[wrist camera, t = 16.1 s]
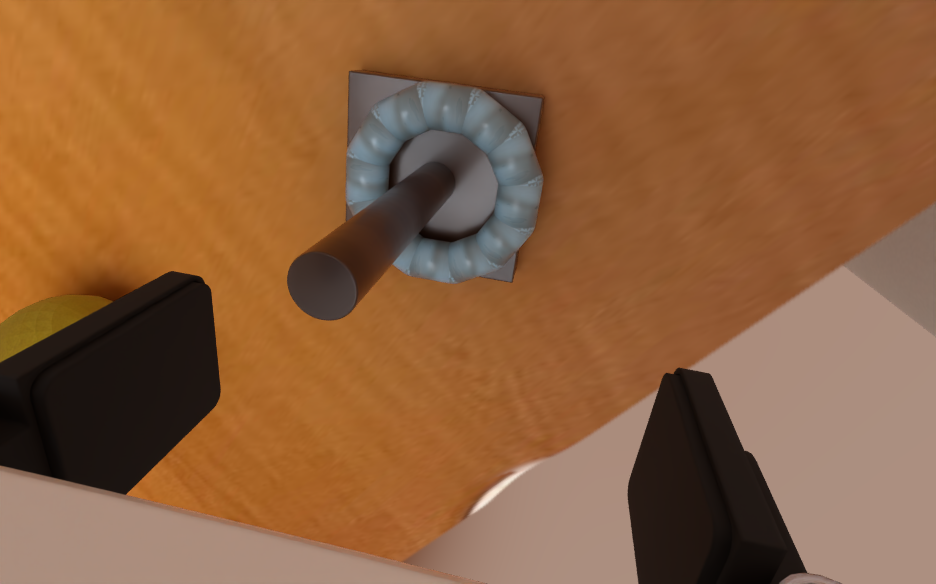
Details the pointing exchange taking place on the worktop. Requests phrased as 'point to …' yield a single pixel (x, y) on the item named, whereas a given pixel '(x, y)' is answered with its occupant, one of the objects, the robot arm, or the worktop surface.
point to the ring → (485, 129)
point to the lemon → (44, 320)
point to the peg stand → (405, 202)
